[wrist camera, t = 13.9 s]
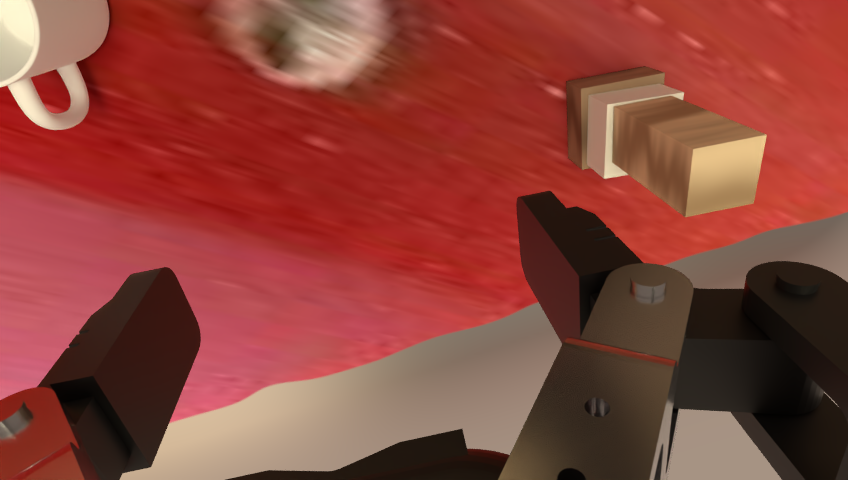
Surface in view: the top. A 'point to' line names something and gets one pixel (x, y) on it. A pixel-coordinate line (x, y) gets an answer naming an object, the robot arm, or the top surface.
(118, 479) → the robot arm
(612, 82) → the slab base
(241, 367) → the top surface
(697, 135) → the pillar
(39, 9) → the cup
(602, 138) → the slab top
